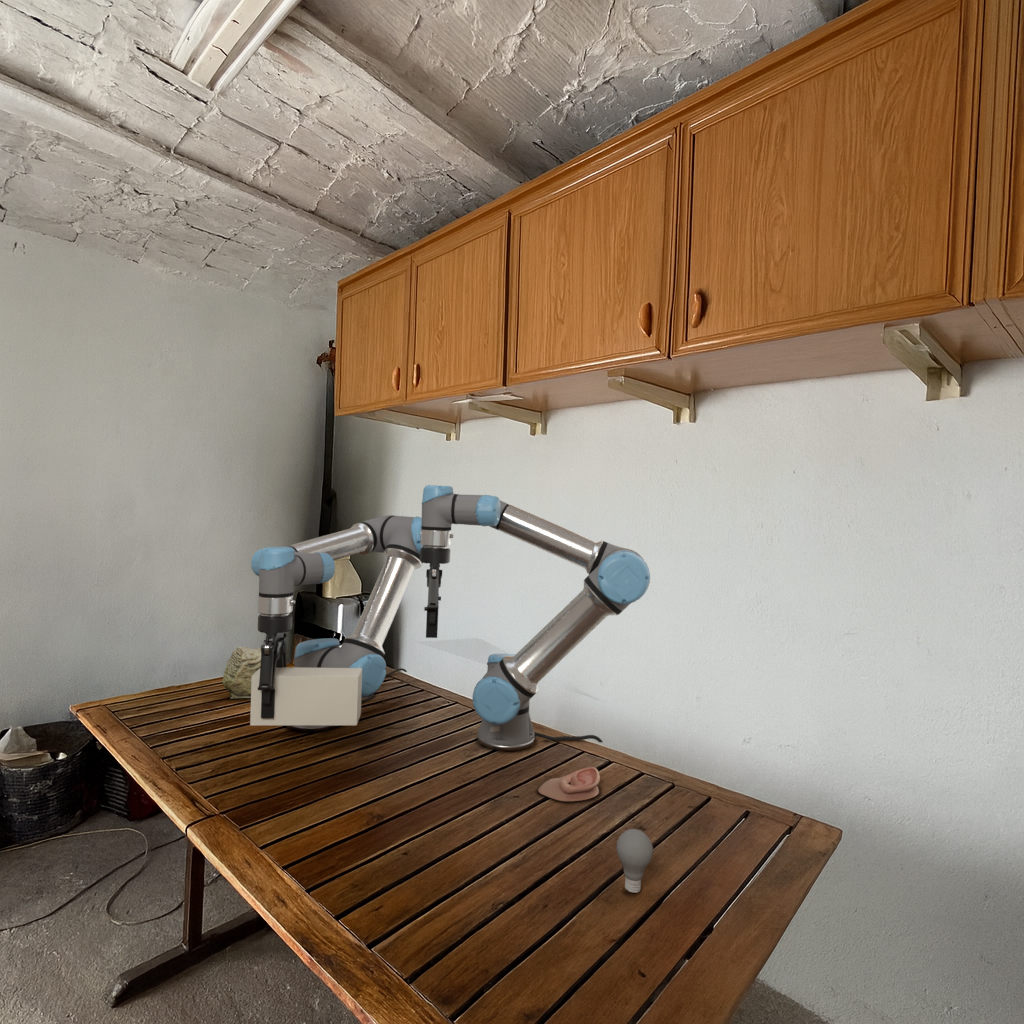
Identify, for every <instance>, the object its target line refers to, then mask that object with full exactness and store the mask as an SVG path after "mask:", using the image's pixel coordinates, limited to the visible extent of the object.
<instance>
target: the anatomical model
mask: <svg viewBox="0 0 1024 1024" xmlns="http://www.w3.org/2000/svg"><path fill="white" fill-rule="evenodd" d="M600 781H601V776H600V772H599V769H597V767H593V766H589V767H585V768H581V769H578V770H575V771H573V772H571V773H569V774H567V775H564V776H561V777H555V778H550V779H548V780H547V781H545V782H543V783H542V784H541V785H540V786H539V787H538V789H537V792H538V793H539V794H540V795H542V796H544V797H547V798H548V799H549V798H550V799H552V800H555V801H558V802H578V801H586V800H590V799H592V798H595V797H596V796H598V795H599V794H600V789H599V786H598V785H599V783H600Z"/></svg>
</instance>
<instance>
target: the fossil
mask: <svg viewBox="0 0 1024 1024" xmlns="http://www.w3.org/2000/svg"><path fill="white" fill-rule="evenodd" d="M260 666H261V647H258V648H251V647H247V646H246V647H245V646H238V647H237V648H236V649H235V650H233V651H232V653H231V656H230V657H229V659H228V660H227V663H226V666H225V668H224V671H223V675H222V676H223V677H222V685H223V687H224V688H225V690H226V691H228V693H229V698H230V699H251V680H252V675H253V674H254V673H255V672H257V671H258V670H259V669H260Z"/></svg>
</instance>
